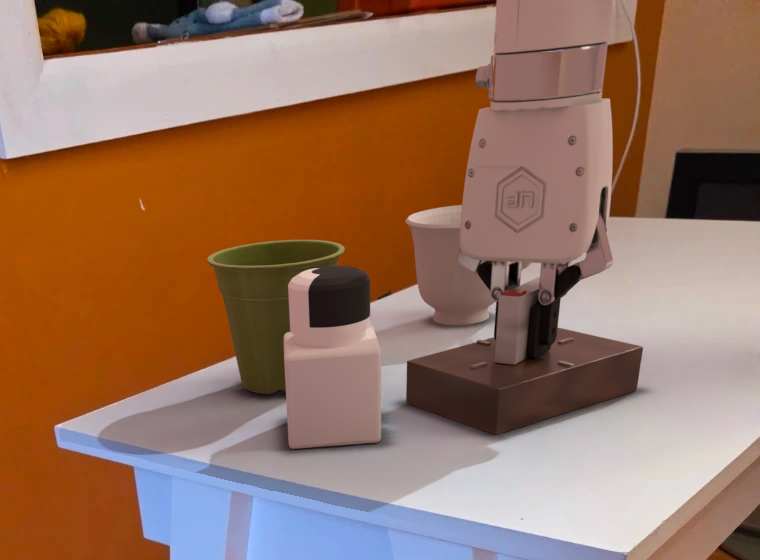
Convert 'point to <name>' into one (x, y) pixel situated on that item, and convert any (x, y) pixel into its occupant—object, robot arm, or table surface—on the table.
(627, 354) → the tap base
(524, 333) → the tap handle
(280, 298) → the plant pot
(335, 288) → the medicine bottle
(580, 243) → the robot arm
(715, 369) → the table surface
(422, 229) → the teacup
